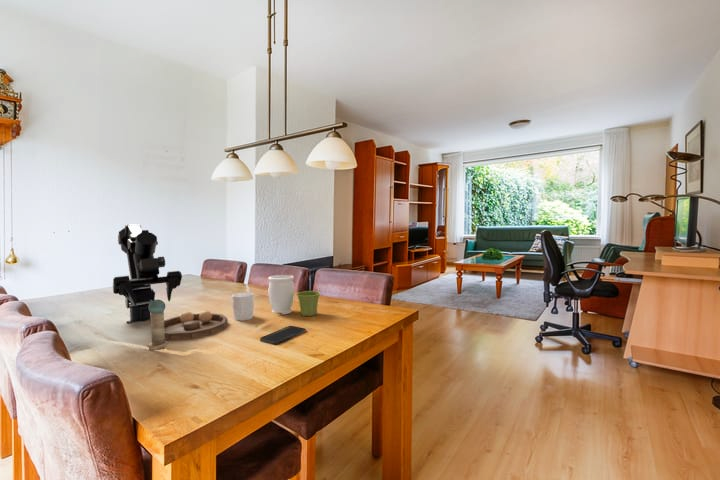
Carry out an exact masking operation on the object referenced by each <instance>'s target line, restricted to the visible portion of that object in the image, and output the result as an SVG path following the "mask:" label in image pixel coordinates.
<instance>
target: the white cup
mask: <svg viewBox="0 0 720 480" xmlns="http://www.w3.org/2000/svg"><path fill="white" fill-rule="evenodd" d="M231 301H232V311H233V319H234V320H235V321H246V320H251V319H253V317H254V307H255V303H254V301H255V294H254V292H250V291H249V292H248V291H247V292H245V291H244V292H236V293H232V295H231Z"/></svg>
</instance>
